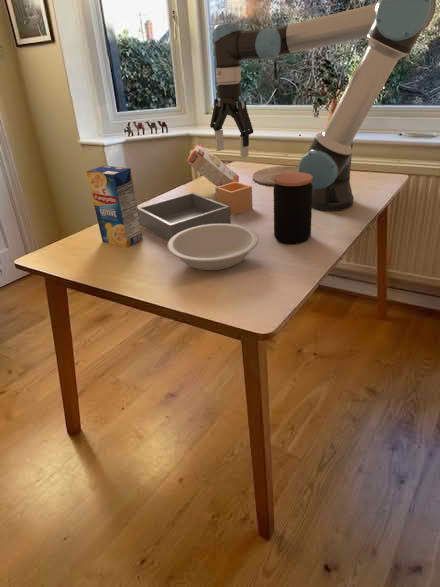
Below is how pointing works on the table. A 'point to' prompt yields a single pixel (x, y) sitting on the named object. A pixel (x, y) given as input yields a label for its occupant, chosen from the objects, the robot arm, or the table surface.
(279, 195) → the coffee jar
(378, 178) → the table surface
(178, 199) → the charcoal crate
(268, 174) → the trivet
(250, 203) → the orange crate
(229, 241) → the soup bowl
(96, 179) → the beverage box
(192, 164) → the cracker box
